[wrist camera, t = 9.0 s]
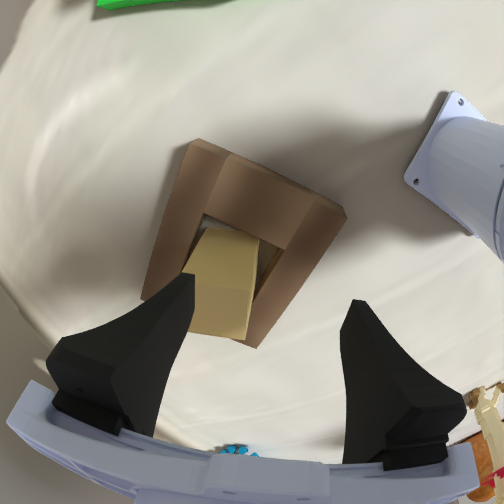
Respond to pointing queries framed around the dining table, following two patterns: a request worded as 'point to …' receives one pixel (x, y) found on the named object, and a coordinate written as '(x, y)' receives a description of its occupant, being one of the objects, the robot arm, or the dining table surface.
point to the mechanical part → (125, 3)
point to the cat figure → (491, 435)
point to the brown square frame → (245, 226)
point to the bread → (481, 468)
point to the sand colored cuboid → (223, 282)
